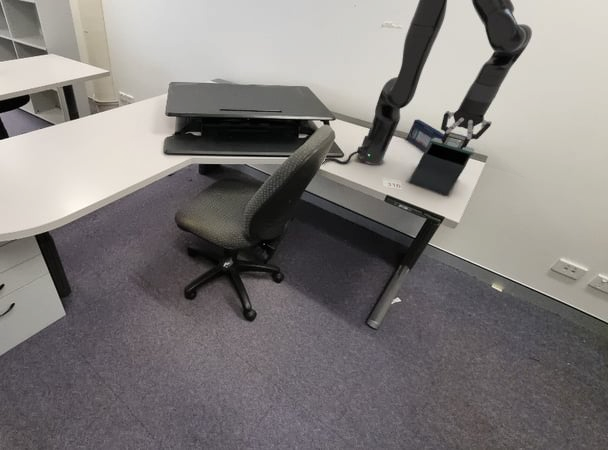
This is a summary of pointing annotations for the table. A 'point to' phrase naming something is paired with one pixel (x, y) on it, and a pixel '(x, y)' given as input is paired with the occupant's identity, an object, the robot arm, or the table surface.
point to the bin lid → (454, 145)
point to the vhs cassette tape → (422, 135)
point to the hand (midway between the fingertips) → (452, 145)
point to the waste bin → (439, 169)
